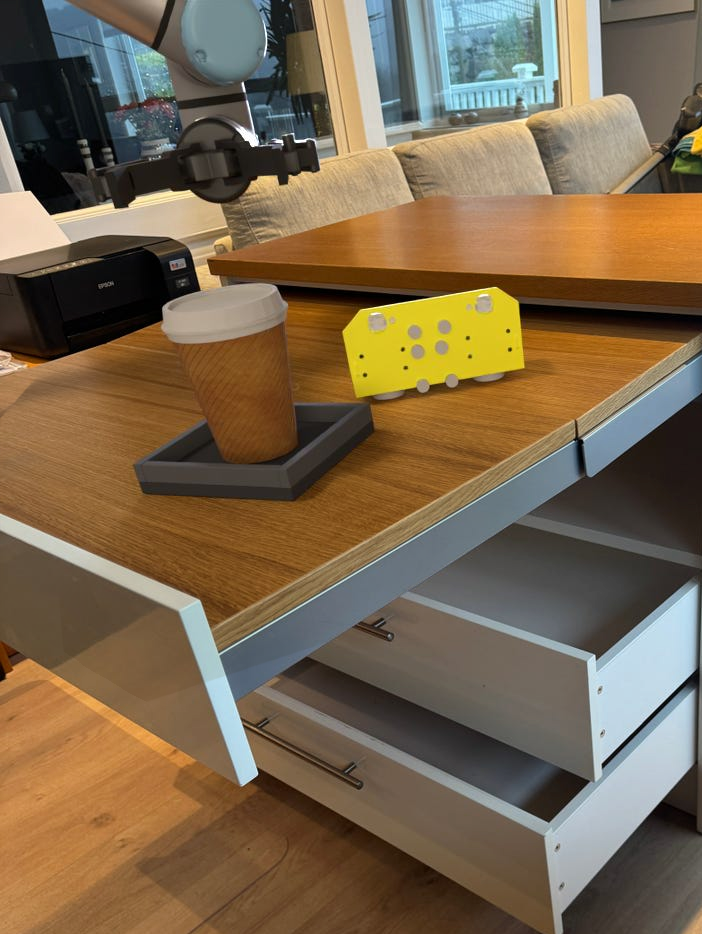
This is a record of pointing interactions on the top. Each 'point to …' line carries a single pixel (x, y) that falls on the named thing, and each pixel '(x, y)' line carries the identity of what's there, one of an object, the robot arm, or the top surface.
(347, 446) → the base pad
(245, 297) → the disposable coffee cup
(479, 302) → the yellow toy chassis
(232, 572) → the top surface
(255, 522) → the top surface
